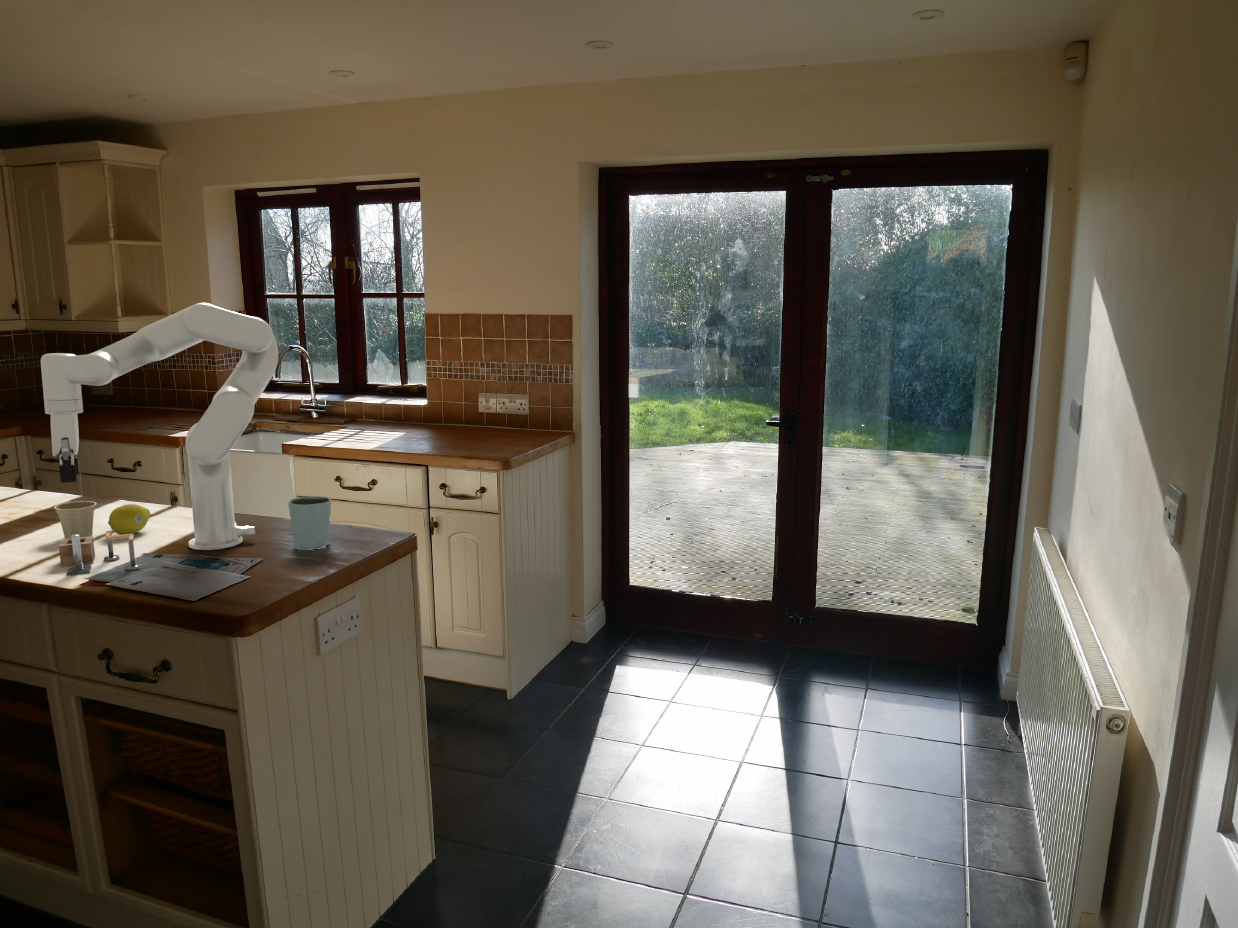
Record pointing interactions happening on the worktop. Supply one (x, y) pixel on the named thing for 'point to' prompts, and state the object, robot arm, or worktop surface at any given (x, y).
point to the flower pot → (76, 518)
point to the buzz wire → (116, 557)
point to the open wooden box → (67, 551)
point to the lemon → (128, 519)
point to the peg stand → (77, 558)
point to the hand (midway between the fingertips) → (69, 478)
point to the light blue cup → (310, 521)
